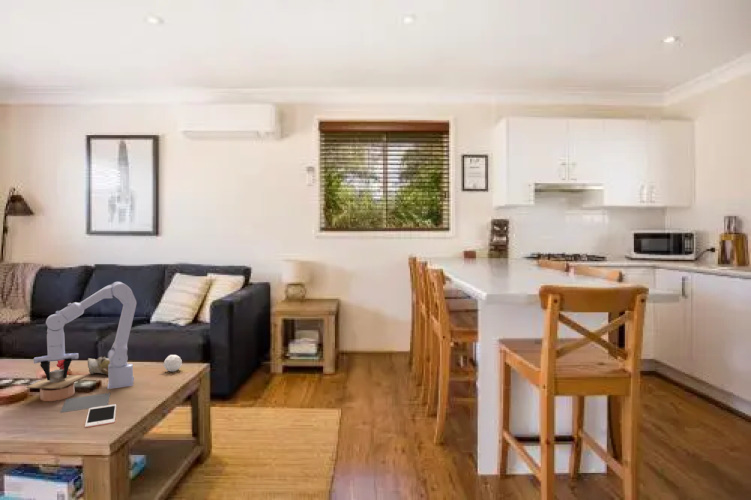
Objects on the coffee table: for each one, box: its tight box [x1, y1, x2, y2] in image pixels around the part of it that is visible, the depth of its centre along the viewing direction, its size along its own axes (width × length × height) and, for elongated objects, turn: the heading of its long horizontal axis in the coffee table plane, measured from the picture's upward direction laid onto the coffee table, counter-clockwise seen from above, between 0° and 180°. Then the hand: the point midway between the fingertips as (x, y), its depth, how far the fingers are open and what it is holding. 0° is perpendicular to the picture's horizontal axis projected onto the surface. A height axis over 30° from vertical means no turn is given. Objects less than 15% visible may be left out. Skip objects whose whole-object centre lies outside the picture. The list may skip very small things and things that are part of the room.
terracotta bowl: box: [39, 382, 76, 402], centre depth 185 cm, size 11×11×4 cm
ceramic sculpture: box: [87, 355, 111, 376], centre depth 215 cm, size 11×9×15 cm
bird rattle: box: [56, 360, 70, 375], centre depth 201 cm, size 6×11×9 cm
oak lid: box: [26, 369, 87, 389], centre depth 185 cm, size 14×14×4 cm
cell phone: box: [84, 403, 117, 429], centre depth 167 cm, size 9×18×1 cm, turn 27°
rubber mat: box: [60, 392, 111, 414], centre depth 179 cm, size 15×15×1 cm
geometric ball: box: [163, 354, 183, 372], centre depth 219 cm, size 8×8×8 cm
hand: (57, 378), depth 185 cm, fingers closed on oak lid, 5 cm apart
